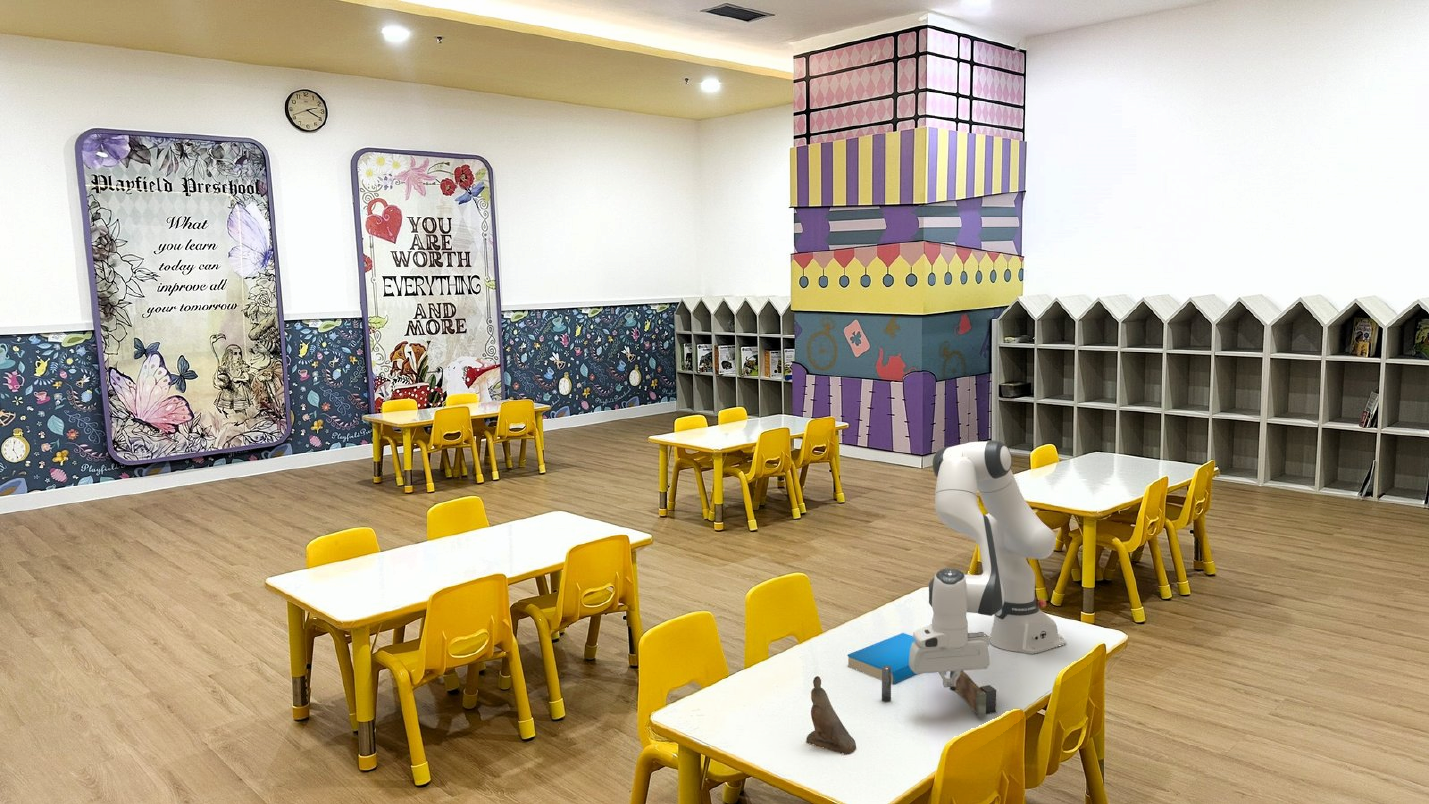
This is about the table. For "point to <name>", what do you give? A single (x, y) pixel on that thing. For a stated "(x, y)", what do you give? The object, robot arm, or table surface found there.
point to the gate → (971, 694)
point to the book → (885, 658)
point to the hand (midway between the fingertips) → (949, 686)
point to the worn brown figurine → (827, 724)
